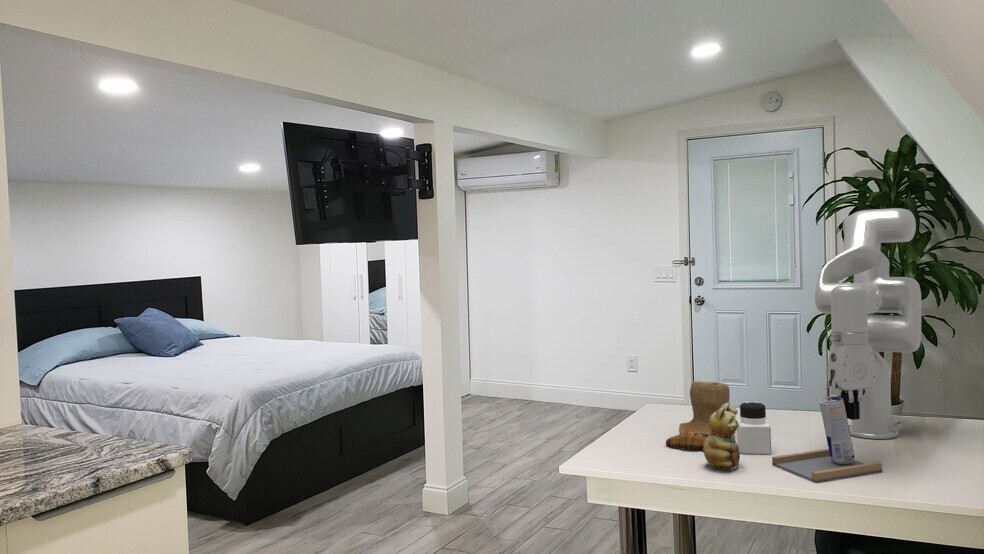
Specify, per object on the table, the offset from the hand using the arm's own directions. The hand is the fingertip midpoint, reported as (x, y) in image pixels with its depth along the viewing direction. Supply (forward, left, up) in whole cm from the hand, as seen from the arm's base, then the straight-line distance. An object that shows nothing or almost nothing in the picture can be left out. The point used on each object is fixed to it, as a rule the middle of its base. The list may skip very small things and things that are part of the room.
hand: (851, 418), depth 166 cm
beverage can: (+2, 0, -10) cm, 10 cm away
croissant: (+25, -27, -11) cm, 39 cm away
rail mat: (+7, 0, -11) cm, 13 cm away
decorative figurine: (+27, -11, -11) cm, 32 cm away
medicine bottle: (+12, -19, -11) cm, 25 cm away
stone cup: (+14, -37, -11) cm, 41 cm away
